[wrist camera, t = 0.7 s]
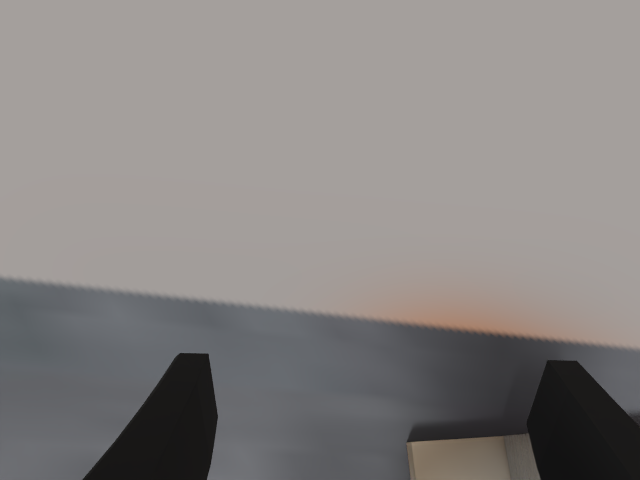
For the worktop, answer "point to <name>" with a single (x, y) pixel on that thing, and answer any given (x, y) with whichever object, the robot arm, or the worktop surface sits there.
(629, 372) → the worktop surface
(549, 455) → the robot arm
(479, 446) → the board
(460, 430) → the worktop surface
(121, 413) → the worktop surface
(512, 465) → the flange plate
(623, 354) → the worktop surface
